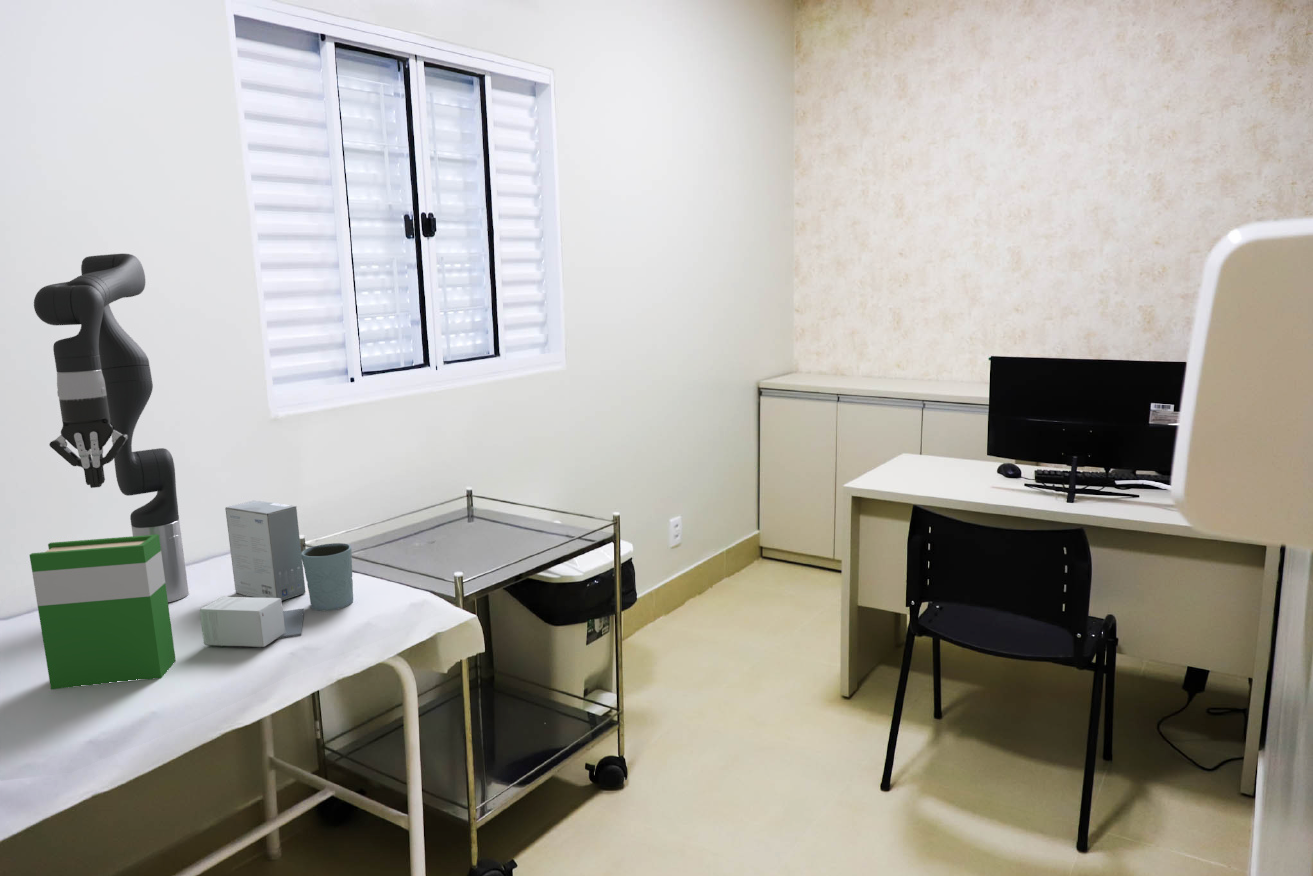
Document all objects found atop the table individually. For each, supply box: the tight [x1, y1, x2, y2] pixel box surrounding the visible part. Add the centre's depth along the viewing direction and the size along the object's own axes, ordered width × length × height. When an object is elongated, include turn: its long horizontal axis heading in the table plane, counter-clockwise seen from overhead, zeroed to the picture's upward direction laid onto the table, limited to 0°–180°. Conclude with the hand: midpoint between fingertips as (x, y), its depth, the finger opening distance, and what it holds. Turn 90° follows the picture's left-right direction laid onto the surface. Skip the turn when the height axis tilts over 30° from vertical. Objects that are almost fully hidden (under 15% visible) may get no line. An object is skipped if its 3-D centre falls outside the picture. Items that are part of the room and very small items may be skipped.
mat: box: [278, 607, 305, 639], centre depth 181 cm, size 15×14×1 cm
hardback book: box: [29, 534, 177, 690], centre depth 158 cm, size 18×7×24 cm, turn 100°
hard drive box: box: [224, 500, 307, 601], centre depth 200 cm, size 16×8×20 cm, turn 58°
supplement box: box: [199, 596, 285, 648], centre depth 173 cm, size 7×7×13 cm
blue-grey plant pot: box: [301, 542, 354, 611], centre depth 192 cm, size 10×10×12 cm
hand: (96, 486), depth 170 cm, fingers closed
